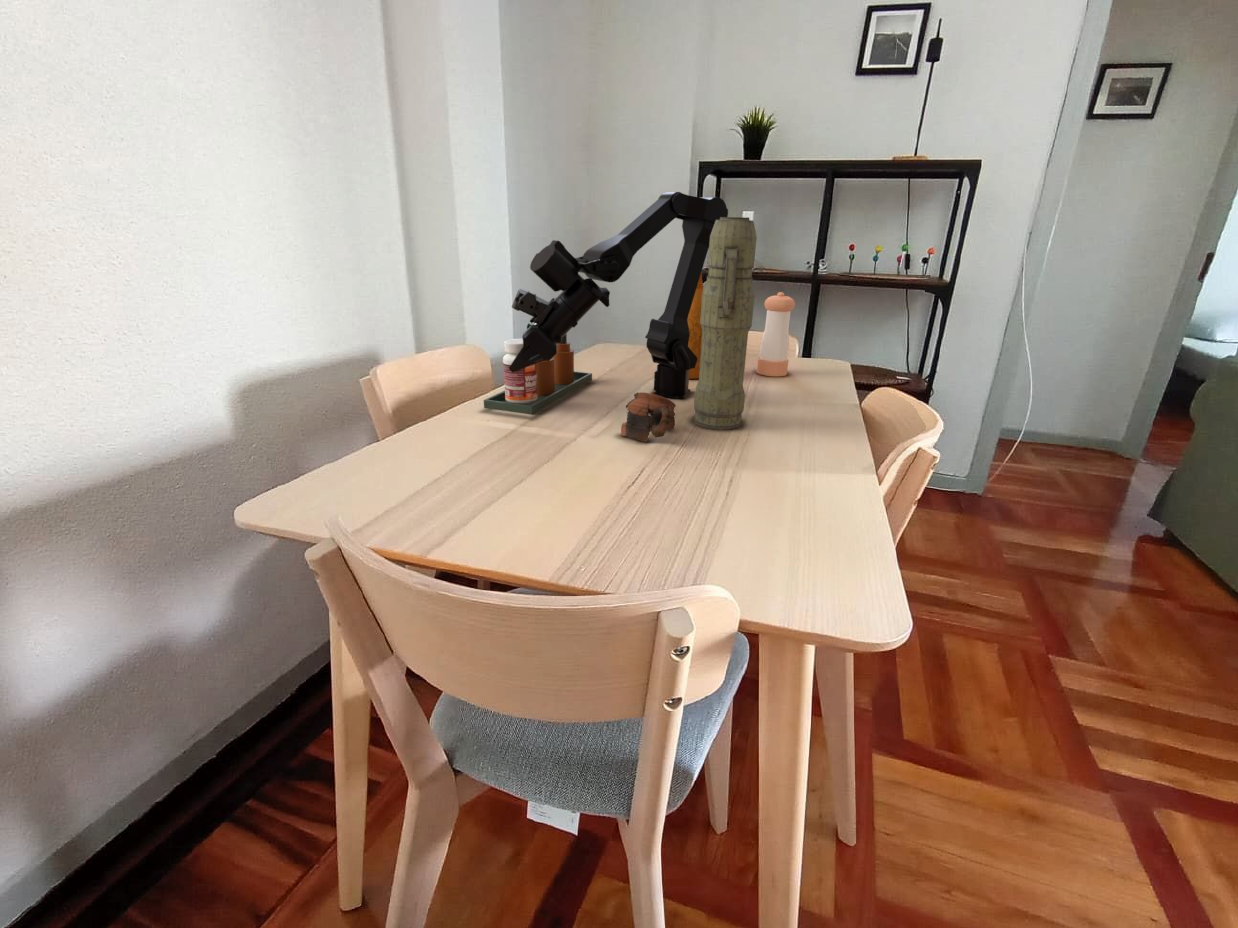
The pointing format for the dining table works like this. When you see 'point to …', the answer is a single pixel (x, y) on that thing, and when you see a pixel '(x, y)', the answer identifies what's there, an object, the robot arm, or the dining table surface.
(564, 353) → the amber bottle end
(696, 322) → the wine bottle
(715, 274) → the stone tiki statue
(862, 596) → the dining table surface
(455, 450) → the dining table surface
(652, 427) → the brown rough arched piece
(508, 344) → the pill bottle
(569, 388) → the tray
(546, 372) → the amber bottle middle
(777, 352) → the pepper shaker
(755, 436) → the dining table surface
